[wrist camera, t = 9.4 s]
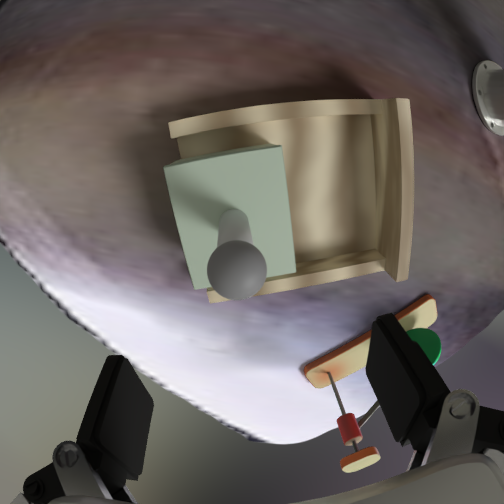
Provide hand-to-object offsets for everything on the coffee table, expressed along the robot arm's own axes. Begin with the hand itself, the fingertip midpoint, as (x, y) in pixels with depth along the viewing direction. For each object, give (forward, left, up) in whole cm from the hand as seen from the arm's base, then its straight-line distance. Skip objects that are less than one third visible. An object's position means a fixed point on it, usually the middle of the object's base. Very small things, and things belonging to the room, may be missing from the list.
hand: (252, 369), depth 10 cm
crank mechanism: (-18, +27, -24) cm, 41 cm away
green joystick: (0, 0, -23) cm, 23 cm away
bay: (-7, 0, -24) cm, 25 cm away
